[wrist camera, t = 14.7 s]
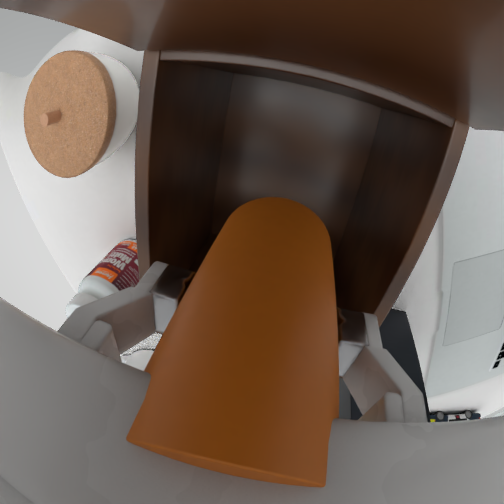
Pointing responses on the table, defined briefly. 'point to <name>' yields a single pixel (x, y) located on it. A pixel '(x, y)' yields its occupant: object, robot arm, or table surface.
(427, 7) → the chest lid
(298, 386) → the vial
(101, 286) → the pill bottle
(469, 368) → the table surface
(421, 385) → the stand
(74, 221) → the table surface
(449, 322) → the table surface
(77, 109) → the trinket box
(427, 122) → the chest
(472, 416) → the toy car
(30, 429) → the robot arm
